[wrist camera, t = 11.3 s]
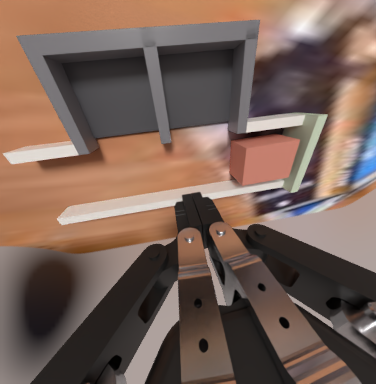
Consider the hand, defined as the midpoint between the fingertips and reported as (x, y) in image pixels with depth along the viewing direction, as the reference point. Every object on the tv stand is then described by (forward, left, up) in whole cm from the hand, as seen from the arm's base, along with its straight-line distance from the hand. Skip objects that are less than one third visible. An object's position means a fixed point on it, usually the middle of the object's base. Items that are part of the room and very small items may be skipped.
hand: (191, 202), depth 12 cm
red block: (+8, +6, -8) cm, 13 cm away
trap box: (-2, +3, -8) cm, 9 cm away
